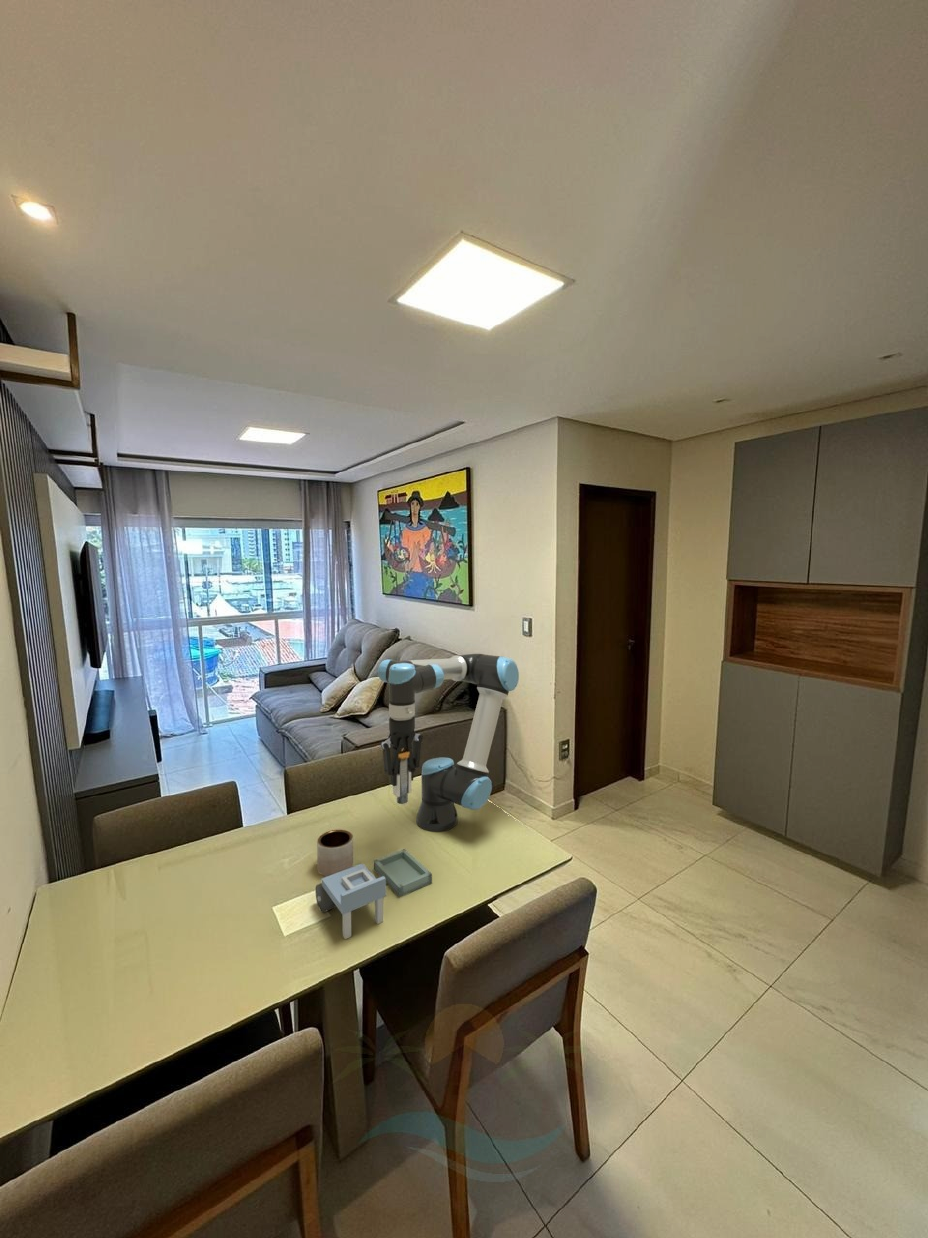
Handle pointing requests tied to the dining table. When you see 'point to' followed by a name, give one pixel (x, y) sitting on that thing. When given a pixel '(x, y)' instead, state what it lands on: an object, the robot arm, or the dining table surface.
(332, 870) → the planter
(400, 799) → the orange and grey cylinder
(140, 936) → the dining table surface
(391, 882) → the tray
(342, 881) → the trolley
